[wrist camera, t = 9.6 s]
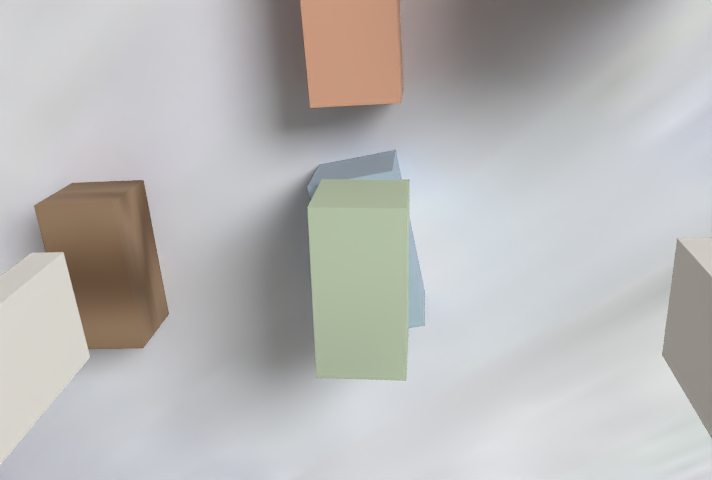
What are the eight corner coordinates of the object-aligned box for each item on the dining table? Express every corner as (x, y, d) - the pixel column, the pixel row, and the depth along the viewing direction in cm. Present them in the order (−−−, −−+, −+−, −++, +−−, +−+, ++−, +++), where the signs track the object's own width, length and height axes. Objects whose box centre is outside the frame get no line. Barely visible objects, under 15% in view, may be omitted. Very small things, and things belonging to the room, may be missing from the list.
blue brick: (319, 164, 34) (306, 187, 31) (395, 149, 34) (392, 170, 30) (353, 301, 37) (346, 337, 34) (424, 290, 37) (424, 325, 33)
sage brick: (408, 335, 33) (406, 380, 29) (328, 333, 34) (316, 377, 30) (409, 179, 30) (407, 208, 26) (321, 179, 31) (307, 207, 27)
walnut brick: (73, 181, 36) (34, 205, 33) (144, 179, 36) (112, 202, 32) (103, 313, 39) (70, 349, 35) (169, 312, 39) (142, 348, 35)
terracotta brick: (307, -85, 30) (291, -94, 27) (395, -93, 30) (392, -103, 26) (322, 93, 33) (310, 107, 29) (403, 88, 33) (401, 103, 29)
